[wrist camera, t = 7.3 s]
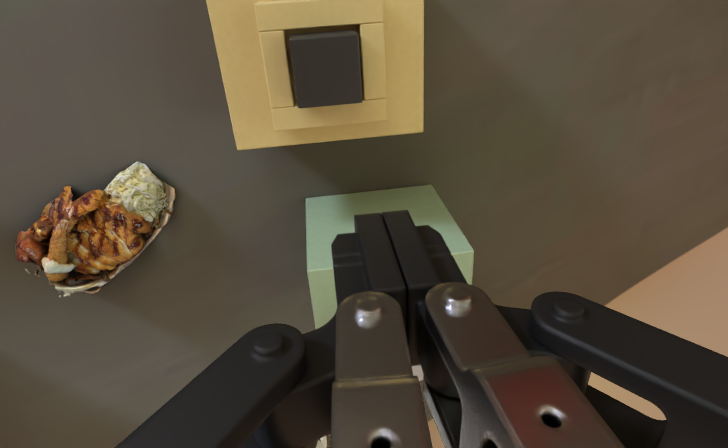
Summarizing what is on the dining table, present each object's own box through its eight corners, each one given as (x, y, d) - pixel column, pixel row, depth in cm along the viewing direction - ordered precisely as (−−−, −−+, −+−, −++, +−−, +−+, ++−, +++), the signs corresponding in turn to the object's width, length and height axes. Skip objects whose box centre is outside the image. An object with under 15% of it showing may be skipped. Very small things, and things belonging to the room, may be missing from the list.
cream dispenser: (248, 121, 31) (233, 161, 24) (220, -27, 27) (192, -29, 20) (402, 106, 32) (431, 141, 25) (400, -39, 28) (433, -45, 21)
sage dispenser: (317, 290, 39) (324, 404, 28) (305, 197, 35) (307, 292, 24) (430, 276, 40) (476, 382, 29) (431, 184, 35) (486, 269, 25)
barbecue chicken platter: (194, 201, 34) (183, 223, 30) (96, 294, 36) (77, 324, 33) (110, 134, 31) (89, 152, 27) (11, 242, 33) (-19, 269, 30)
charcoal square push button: (298, 99, 24) (298, 109, 22) (289, 34, 22) (288, 38, 20) (358, 94, 24) (362, 103, 22) (354, 29, 22) (358, 33, 21)
